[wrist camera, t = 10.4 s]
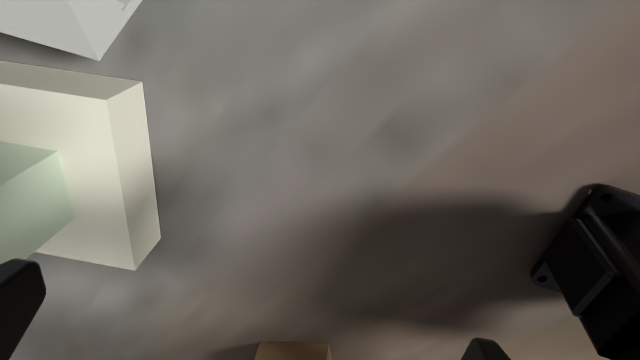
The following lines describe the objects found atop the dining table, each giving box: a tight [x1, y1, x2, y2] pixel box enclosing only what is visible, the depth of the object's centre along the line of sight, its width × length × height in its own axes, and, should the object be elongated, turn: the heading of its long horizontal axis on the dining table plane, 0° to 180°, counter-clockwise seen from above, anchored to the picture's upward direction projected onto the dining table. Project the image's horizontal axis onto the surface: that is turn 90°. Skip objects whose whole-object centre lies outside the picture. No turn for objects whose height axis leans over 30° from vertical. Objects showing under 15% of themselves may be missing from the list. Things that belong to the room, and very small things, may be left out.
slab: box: [0, 61, 161, 271], centre depth 22 cm, size 10×10×3 cm
